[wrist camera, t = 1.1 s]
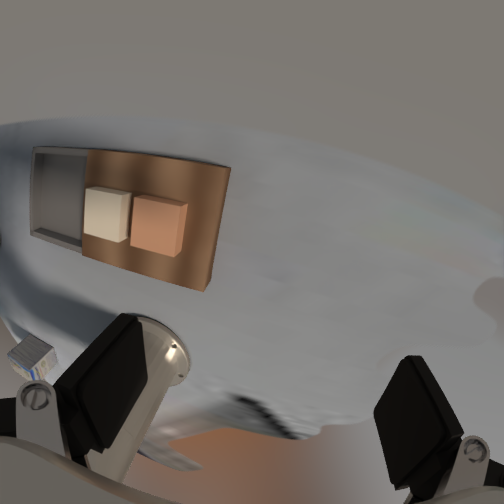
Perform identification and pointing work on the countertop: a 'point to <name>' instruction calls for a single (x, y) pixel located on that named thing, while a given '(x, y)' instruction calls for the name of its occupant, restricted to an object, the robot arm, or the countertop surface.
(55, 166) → the tray
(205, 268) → the walnut board
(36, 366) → the medicine box
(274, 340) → the countertop surface
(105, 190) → the cream tile
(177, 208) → the terracotta tile
